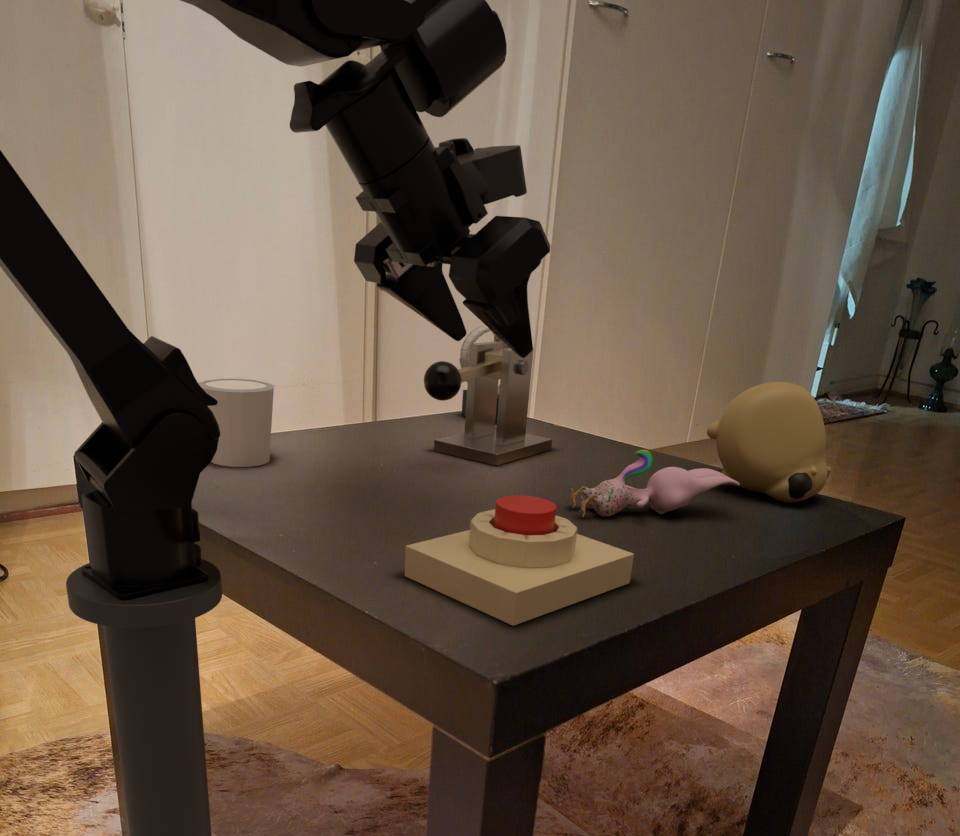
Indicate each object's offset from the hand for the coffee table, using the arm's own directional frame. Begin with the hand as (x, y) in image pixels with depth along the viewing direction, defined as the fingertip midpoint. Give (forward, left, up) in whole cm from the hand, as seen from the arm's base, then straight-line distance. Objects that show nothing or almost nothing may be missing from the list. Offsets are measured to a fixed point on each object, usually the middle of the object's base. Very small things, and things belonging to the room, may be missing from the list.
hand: (493, 345), depth 70 cm
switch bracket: (+15, +13, -13) cm, 24 cm away
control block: (-11, -14, -13) cm, 22 cm away
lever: (+10, +12, -6) cm, 17 cm away
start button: (-11, -14, -9) cm, 21 cm away
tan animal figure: (+27, -12, -13) cm, 33 cm away
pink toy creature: (+11, -10, -13) cm, 20 cm away
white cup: (-10, +23, -13) cm, 28 cm away
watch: (+27, +26, -13) cm, 39 cm away
